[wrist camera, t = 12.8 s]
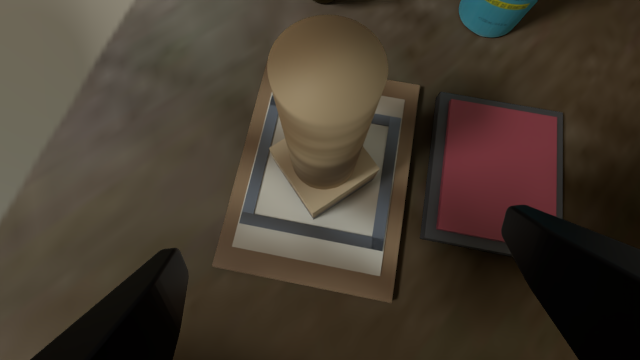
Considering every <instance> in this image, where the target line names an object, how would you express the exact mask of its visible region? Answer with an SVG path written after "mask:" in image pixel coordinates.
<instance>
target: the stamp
mask: <svg viewBox="0 0 640 360" xmlns="http://www.w3.org/2000/svg"><path fill="white" fill-rule="evenodd" d="M267 72H268V78H269V82H270V86H271V89H272V93H273V97H274V100H275V104H276V107H277V111H278V115H279V118H280V122H281V125H282V129H283V133H284V136H285V138H284V139H283V140H281V141H280V142H278V143H276V144H275V145H273V146H271V147H270V148H269V150H270V152H271V154H272V156H273V159H274V161H275V163H276V164H277V166H278V167H279V169H280V170H281V172H282V173H283V175H284V176H285V178H286V179H287V181H288V182H289V184H290V185H291V187H292V188H293V190H294V191H295V193H296V194H297V196H298V197H299V199H300V200H301V202H302V203H303V205H304V206H305V208H306V209H307V211H308V212H309V214H310V215H311V217H312V218H313V220H314V219H315V218H317V217H318V216H320V215H321V214H323V213H324V212H326V211H327V210H329V209H330V208H332V207H333V206H335V205H336V204H338V203H339V202H341V201H342V200H344V199H345V198H347V197H348V196H350V195H351V194H353V193H354V192H356V191H357V190H359V189H360V188H362V187H363V186H365V185H366V184H368V183H369V182H371V181H372V180H373V179H374V177H375V176H376V174H377V173H378V171H379V169H380V168H379V167H378V166H377V164H376V163H375V162H374V160H373V159H372V158H371V156H370V155H369V154H368V152H367V151H366V150H365V148H364V147H363V144H364V141H365V138H366V136H367V133H368V130H369V128H370V125H371V122H372V119H373V117H374V114H375V111H376V109H377V106H378V103H379V100H380V98H381V95H382V92H383V90H384V87H385V84H386V81H387V77H388V60H387V56H386V53H385V50H384V48H383V46H382V44H381V42H380V41H379V40H378V38H377V37H376V36H375V35H374V34H373V33H372V32H371V31H370V30H369V29H368V28H367V27H365V26H364V25H362V24H360V23H359V22H357V21H354V20H352V19H349V18H346V17H342V16H337V15H318V16H313V17H308V18H305V19H303V20H300V21H298V22H296V23H294V24H293V25H291V26H290V27H288V28H287V29H286V30H285V31H283V32H282V34H281V35H280V36H279V37H278V38H277V40H276V41H275V42H274V44H273V46H272V48H271V50H270V53H269V57H268V62H267Z"/></svg>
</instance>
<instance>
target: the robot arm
mask: <svg viewBox="0 0 640 360" xmlns="http://www.w3.org/2000/svg"><path fill="white" fill-rule="evenodd" d="M501 234H502V237H503V239H504V241H505V243H506V245H507V247H508V249H509V251H510V252H511V254H512V256H513V258H514V260H515V262H516V263H517V265H518V267H519V269H520V271H521V273H522V275H523V276H524V278H525V280H526V282H527V283H528V285H529V287H530V288H531V290H532V291H533V293H534V294H535V296H536V297H537V299H538V300H539V302H540V303H541V305H542V306H543V308H544V309H545V311H546V312H547V314H548V315H549V317H550V318H551V319H552V321H553V322H554V324H555V325H556V327H557V328H558V330H559V331H560V333H561V334H562V336H563V337H564V339H565V340H566V341H567V343H568V344H569V346H570V347H571V349H572V350H573V352H574V353H575V355H576V356H577V358H578V359H579V360H640V249H637V248H635V247H632V246H630V245H627V244H625V243H622V242H620V241H617V240H614V239H612V238H609V237H607V236H604V235H602V234H599V233H597V232H594V231H591V230H589V229H586V228H584V227H581V226H579V225H576V224H574V223H571V222H568V221H566V220H563V219H561V218H558V217H556V216H553V215H551V214H548V213H545V212H543V211H540V210H538V209H535V208H533V207H530V206H528V205H514V206H510V207H508V208H507V210H506V213H505V217H504V221H503V224H502V228H501ZM187 284H188V269H187V267H186V264H185V262H184V259H183V257H182V255H181V252H180V250H179V249H177V248H170V249H163V250H160V251H159V252H158V253H157V254H155V255H154V256H153V257H152V258H151V259H150V260H148V261H147V262H146V263H145V264H144V265H142V266H141V267H140V268H139V269H138V270H136V271H135V272H134V273H133V274H132V275H130V276H129V277H128V278H127V279H126V280H124V281H123V282H122V283H121V284H120V285H119V286H117V287H116V288H115V289H114V290H113V291H111V292H110V293H109V294H108V295H107V296H105V297H104V298H103V299H102V300H101V301H99V302H98V303H97V304H96V305H95V306H94V307H92V308H91V309H90V310H89V311H88V312H86V313H85V314H84V315H83V316H82V317H80V318H79V319H78V320H77V321H76V322H74V323H73V324H72V325H71V326H70V327H69V328H67V329H66V330H65V331H64V332H63V333H61V334H60V335H59V336H58V337H57V338H55V339H54V340H53V341H52V342H51V343H49V344H48V345H47V346H46V347H45V348H43V349H42V350H41V351H40V352H39V353H38V354H36V355H35V356H34V357H33V358H32V359H30V360H173V356H174V352H175V349H176V345H177V341H178V337H179V333H180V328H181V322H182V316H183V310H184V303H185V297H186V290H187Z"/></svg>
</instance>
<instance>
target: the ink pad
mask: <svg viewBox="0 0 640 360" xmlns="http://www.w3.org/2000/svg"><path fill="white" fill-rule="evenodd" d="M514 205H528V206H530V207H533V208H535V209H538V210H540V211H543V212H545V213H548V214H551V215H553V216H556V217H558V218H561V219H563V113H562V112H556V111H550V110H544V109H539V108H533V107H527V106H521V105H515V104H509V103H504V102H498V101H492V100H486V99H480V98H475V97H469V96H463V95H457V94H451V93H445V92H440V93H439V95H438V96H437V98H436V103H435V112H434V121H433V129H432V138H431V147H430V156H429V165H428V173H427V182H426V191H425V200H424V209H423V217H422V226H421V235H420V239H424V240H429V241H434V242H439V243H445V244H450V245H455V246H460V247H465V248H470V249H475V250H481V251H486V252H491V253H496V254H501V255H506V256H511V257H513V256H512V254H511V252H510V251H509V249H508V247H507V245H506V243H505V241H504V239H503V237H502V234H501V228H502V224H503V221H504V217H505V213H506V210H507V208H508V207H510V206H514Z"/></svg>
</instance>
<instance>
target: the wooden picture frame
mask: <svg viewBox="0 0 640 360" xmlns="http://www.w3.org/2000/svg"><path fill="white" fill-rule="evenodd" d="M267 62H268V60H267ZM419 89H420V85H415V84H409V83H404V82H398V81H392V80H387V81H386V84H385V87H384V90H383V92H382V95H381V98H380V100H379V103H378V106H377V109H376V111H375V114H374V117H373V119H372V122H371V125H370V128H369V130H368V133H367V136H366V138H365V141H364V144H363V147H364V148H365V150H366V151H367V152H368V154H369V155H370V156H371V158H372V159H373V160H374V162H375V163H376V164H377V166H378V167H379V168H380V169H379V171H378V173H377V174H376V176H375V177H374V179H373V180H372V181H371V182H369V183H368V184H366V185H365V186H363V187H362V188H360V189H359V190H357V191H356V192H354V193H353V194H351V195H350V196H348V197H347V198H345V199H344V200H342V201H341V202H339V203H338V204H336V205H335V206H333V207H332V208H330V209H329V210H327V211H326V212H324V213H323V214H321V215H320V216H318V217H317V218H315V219H314V220H313V218H312V217H311V215H310V214H309V212H308V211H307V209H306V208H305V206H304V205H303V203H302V202H301V200H300V199H299V197H298V196H297V194H296V193H295V191H294V190H293V188H292V187H291V185H290V184H289V182H288V181H287V179H286V178H285V176H284V175H283V173H282V172H281V170H280V169H279V167H278V166H277V164H276V163H275V161H274V159H273V156H272V154H271V152H270V150H269V148H270V147H271V146H273V145H275V144H276V143H278V142H280V141H281V140H283V139H284V138H285V136H284V133H283V129H282V125H281V122H280V118H279V115H278V111H277V107H276V104H275V100H274V97H273V93H272V89H271V86H270V82H269V78H268V72H267V64H266V67H265V71H264V75H263V79H262V82H261V86H260V90H259V93H258V97H257V101H256V105H255V108H254V112H253V116H252V119H251V123H250V127H249V130H248V134H247V138H246V142H245V145H244V149H243V153H242V156H241V160H240V164H239V168H238V171H237V175H236V179H235V182H234V186H233V190H232V193H231V197H230V201H229V205H228V208H227V212H226V216H225V219H224V223H223V227H222V231H221V234H220V238H219V242H218V245H217V249H216V253H215V257H214V260H213V264H212V266H213V267H217V268H222V269H227V270H232V271H237V272H242V273H247V274H252V275H257V276H262V277H266V278H271V279H276V280H281V281H286V282H291V283H296V284H301V285H306V286H310V287H315V288H320V289H325V290H330V291H335V292H340V293H345V294H350V295H354V296H359V297H364V298H369V299H374V300H379V301H384V302H389V303H392V298H393V290H394V282H395V274H396V267H397V259H398V251H399V244H400V236H401V228H402V220H403V213H404V205H405V197H406V189H407V182H408V174H409V166H410V158H411V151H412V143H413V135H414V127H415V120H416V112H417V104H418V96H419Z"/></svg>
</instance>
